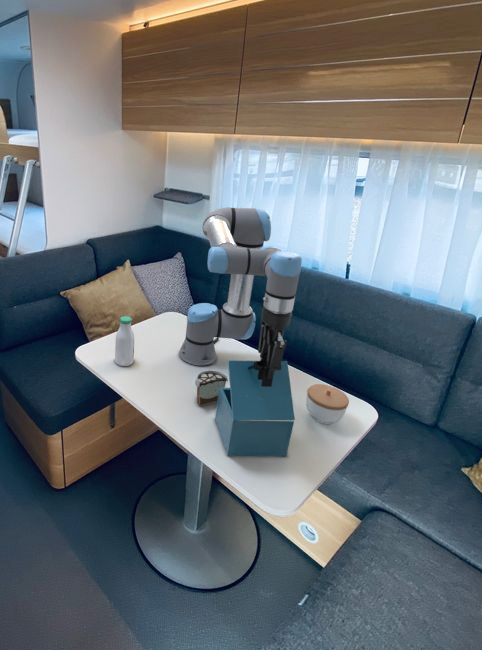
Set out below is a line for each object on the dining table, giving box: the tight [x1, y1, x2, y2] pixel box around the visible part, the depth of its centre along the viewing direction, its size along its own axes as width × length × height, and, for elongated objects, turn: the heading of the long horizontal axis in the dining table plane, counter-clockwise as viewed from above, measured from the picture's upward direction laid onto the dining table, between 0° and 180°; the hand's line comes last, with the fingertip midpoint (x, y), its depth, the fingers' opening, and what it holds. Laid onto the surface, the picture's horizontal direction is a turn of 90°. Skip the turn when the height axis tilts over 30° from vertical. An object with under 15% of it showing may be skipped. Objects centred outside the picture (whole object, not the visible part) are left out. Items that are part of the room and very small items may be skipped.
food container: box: [194, 370, 229, 407], centre depth 147 cm, size 12×6×10 cm, turn 111°
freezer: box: [214, 387, 295, 457], centre depth 128 cm, size 16×18×13 cm
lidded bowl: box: [305, 383, 350, 425], centre depth 139 cm, size 13×13×11 cm
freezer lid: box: [227, 360, 296, 421], centre depth 117 cm, size 17×18×9 cm
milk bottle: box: [114, 315, 135, 367], centre depth 166 cm, size 8×8×20 cm
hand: (264, 382), depth 118 cm, fingers closed on freezer lid, 3 cm apart
